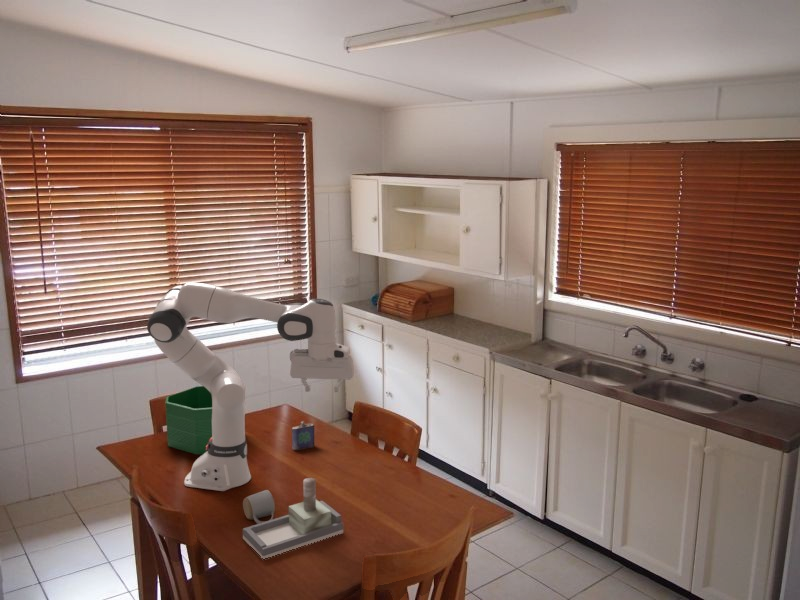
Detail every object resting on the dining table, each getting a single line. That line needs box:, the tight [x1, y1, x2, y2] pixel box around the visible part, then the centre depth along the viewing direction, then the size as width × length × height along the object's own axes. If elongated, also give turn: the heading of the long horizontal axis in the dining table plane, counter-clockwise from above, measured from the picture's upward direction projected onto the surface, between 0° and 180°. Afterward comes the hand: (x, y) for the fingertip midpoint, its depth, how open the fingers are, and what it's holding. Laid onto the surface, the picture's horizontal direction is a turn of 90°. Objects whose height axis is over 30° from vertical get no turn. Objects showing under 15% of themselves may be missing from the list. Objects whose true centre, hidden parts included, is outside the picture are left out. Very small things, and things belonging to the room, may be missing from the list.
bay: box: [242, 500, 344, 560], centre depth 207 cm, size 26×14×5 cm, turn 126°
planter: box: [164, 385, 212, 455], centre depth 278 cm, size 26×26×18 cm
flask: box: [291, 420, 315, 451], centre depth 272 cm, size 9×3×11 cm, turn 121°
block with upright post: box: [288, 477, 331, 534], centre depth 209 cm, size 9×10×15 cm
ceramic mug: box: [242, 489, 276, 524], centre depth 217 cm, size 11×8×8 cm
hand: (322, 391), depth 224 cm, fingers open, 8 cm apart
